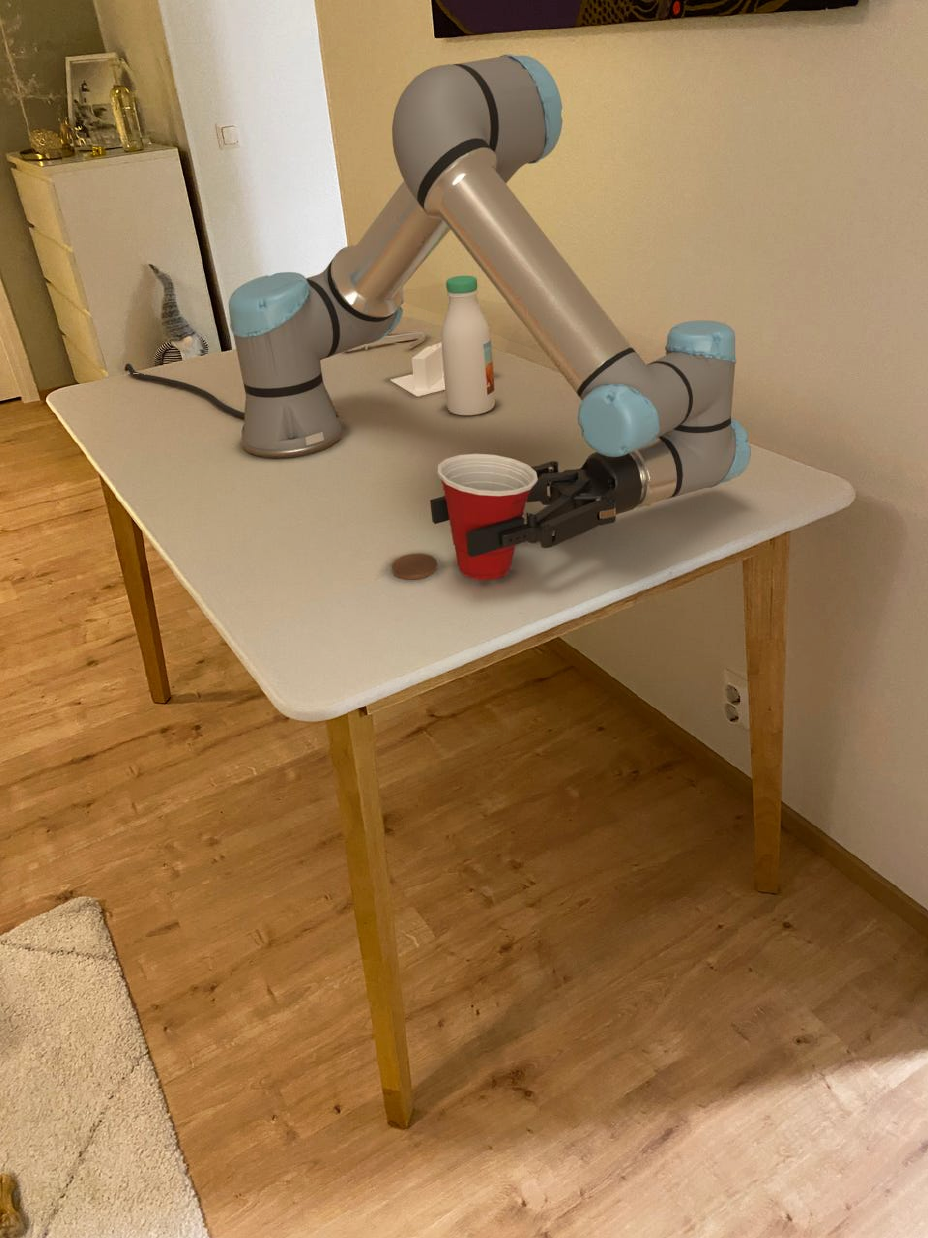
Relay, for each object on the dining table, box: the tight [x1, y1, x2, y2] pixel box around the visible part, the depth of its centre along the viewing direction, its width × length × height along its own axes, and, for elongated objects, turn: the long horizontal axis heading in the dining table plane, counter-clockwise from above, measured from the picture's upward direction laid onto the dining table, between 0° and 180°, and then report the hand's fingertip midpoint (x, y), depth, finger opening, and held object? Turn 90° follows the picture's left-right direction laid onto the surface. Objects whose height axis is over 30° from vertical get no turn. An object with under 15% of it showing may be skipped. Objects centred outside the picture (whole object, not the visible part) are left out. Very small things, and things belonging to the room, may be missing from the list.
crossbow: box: [346, 329, 426, 352], centre depth 188 cm, size 16×13×2 cm
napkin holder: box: [390, 341, 445, 398], centre depth 167 cm, size 15×11×6 cm
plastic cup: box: [437, 453, 538, 581], centre depth 107 cm, size 11×11×12 cm
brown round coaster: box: [391, 553, 438, 580], centre depth 112 cm, size 5×5×1 cm
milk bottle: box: [440, 275, 496, 416], centre depth 150 cm, size 8×8×20 cm
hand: (449, 527), depth 106 cm, fingers closed on plastic cup, 9 cm apart
